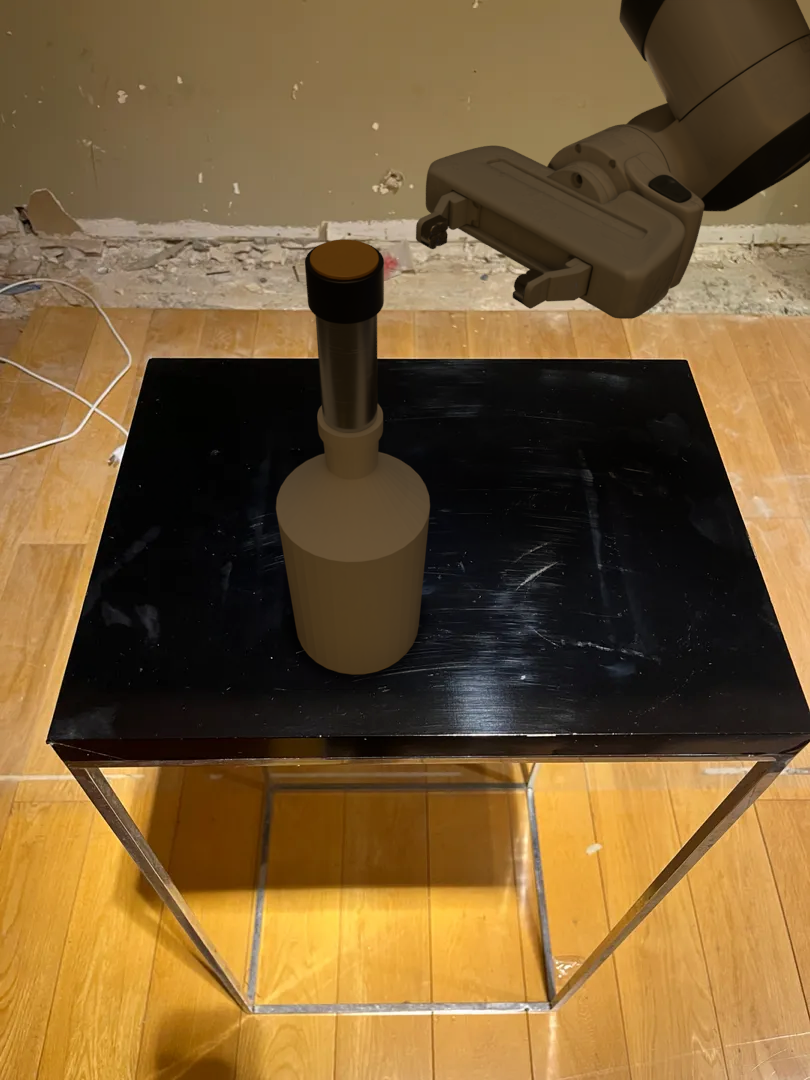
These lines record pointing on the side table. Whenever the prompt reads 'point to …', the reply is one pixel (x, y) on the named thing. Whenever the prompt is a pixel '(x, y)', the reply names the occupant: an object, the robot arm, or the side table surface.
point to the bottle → (354, 551)
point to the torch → (346, 329)
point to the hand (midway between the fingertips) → (470, 263)
